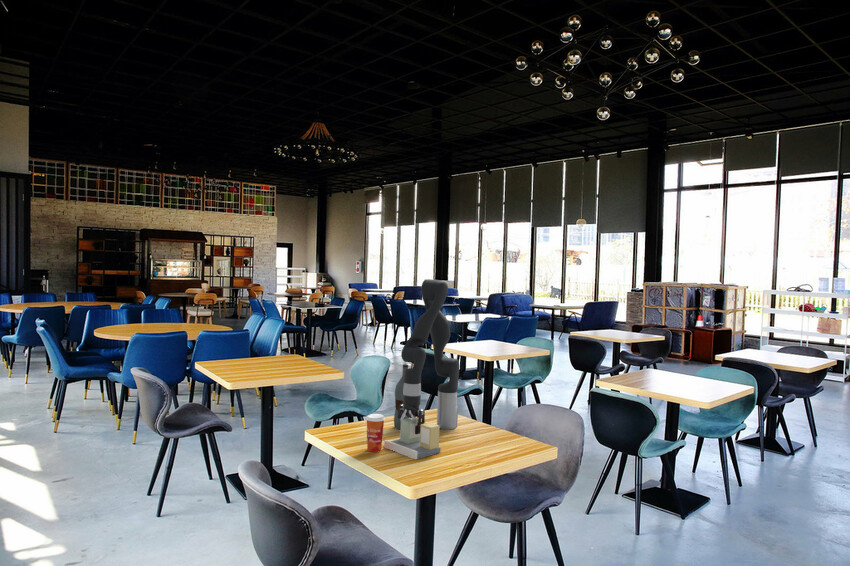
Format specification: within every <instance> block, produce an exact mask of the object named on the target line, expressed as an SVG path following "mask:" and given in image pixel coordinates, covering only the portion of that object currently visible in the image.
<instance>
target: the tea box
mask: <svg viewBox="0 0 850 566" xmlns="http://www.w3.org/2000/svg"><path fill="white" fill-rule="evenodd" d="M417 422H418V421H417ZM415 425H416V424H415V422H414V421H413V419H412V418H406V419H401V429H400V430H399V439H400V441H402V442H405V443H407V444H409V443H413V442H417V441H420V434H415Z"/></svg>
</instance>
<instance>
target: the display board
mask: <svg viewBox="0 0 850 566" xmlns="http://www.w3.org/2000/svg"><path fill="white" fill-rule="evenodd" d="M384 447H385V449H387V450H389V449H390V450H389V451H392V450H393V451H392V452H394V451H395V452H394V453H396V454H400V455H402V456H405V457H407V456H408V458H411V459H412V460H418V459H422V458H425V457H429V456H432V455H437V454H441V447H440V446H439V448H435V449H432V450H429V449H426V448H423V447H420V441H417V442H413V443H409V444H407V443H405V442H402V441H400V438H398V439H394V440H388V439H384V443H383V448H384ZM436 453H437V454H436Z"/></svg>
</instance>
